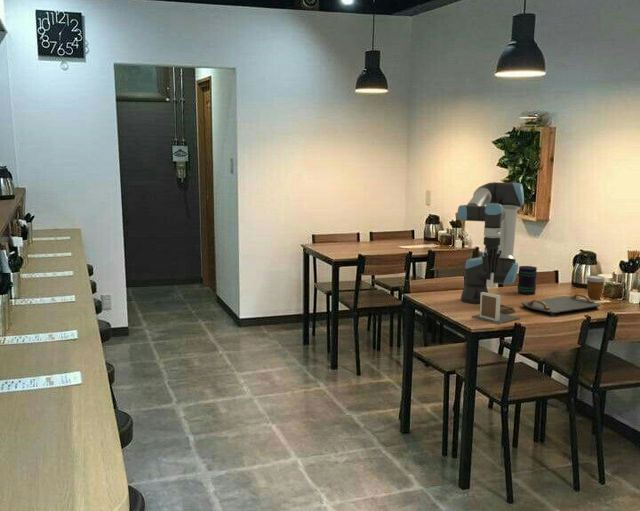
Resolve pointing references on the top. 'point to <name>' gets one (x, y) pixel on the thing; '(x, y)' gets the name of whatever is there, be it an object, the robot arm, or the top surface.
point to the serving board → (561, 304)
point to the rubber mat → (502, 318)
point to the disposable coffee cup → (595, 286)
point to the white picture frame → (490, 306)
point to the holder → (506, 309)
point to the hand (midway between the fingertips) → (489, 286)
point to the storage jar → (527, 280)
